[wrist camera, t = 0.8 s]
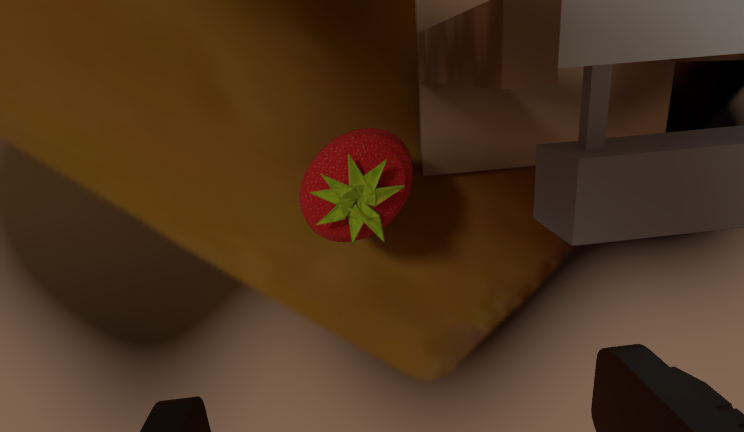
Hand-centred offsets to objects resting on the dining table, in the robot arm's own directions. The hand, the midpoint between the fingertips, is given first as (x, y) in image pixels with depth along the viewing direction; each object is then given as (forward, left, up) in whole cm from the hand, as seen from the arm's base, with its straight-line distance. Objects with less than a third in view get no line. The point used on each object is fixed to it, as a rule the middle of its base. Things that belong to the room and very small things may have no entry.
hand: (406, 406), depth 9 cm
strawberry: (0, 0, -24) cm, 24 cm away
